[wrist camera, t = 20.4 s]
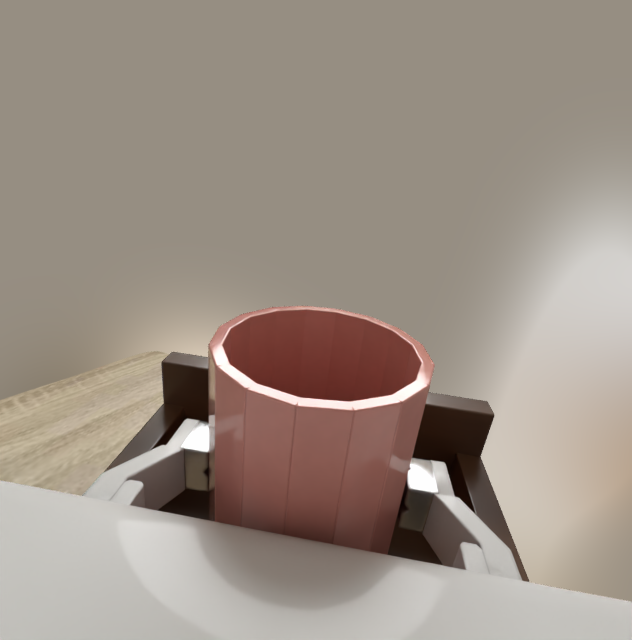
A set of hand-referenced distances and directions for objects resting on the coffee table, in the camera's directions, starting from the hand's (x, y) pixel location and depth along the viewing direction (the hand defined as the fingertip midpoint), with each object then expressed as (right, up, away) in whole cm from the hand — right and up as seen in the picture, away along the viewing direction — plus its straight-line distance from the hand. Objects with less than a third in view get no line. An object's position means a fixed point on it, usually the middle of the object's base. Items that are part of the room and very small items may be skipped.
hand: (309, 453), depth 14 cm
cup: (-1, -5, +1) cm, 6 cm away
